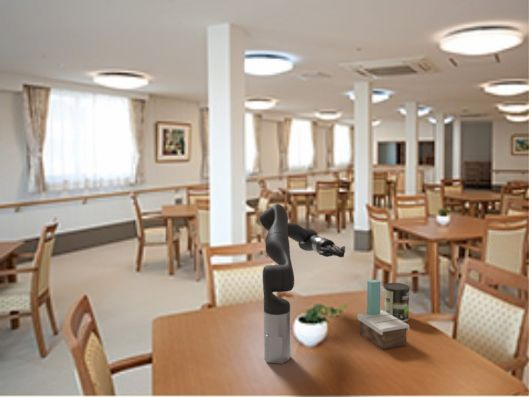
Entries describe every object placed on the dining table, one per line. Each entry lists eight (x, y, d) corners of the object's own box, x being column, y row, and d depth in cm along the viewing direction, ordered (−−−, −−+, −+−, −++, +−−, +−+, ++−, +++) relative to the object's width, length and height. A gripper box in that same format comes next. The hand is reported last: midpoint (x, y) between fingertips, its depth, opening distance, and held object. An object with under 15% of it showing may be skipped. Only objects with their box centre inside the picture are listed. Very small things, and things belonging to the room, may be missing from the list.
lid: (409, 330, 170) (410, 290, 168) (381, 334, 166) (381, 293, 164) (383, 315, 185) (384, 278, 184) (357, 319, 181) (357, 281, 180)
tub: (406, 346, 170) (406, 328, 170) (382, 350, 167) (383, 332, 166) (381, 330, 185) (381, 313, 185) (359, 334, 182) (360, 317, 181)
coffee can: (412, 316, 200) (412, 285, 198) (403, 324, 192) (404, 291, 190) (389, 312, 206) (389, 281, 205) (380, 318, 198) (380, 287, 196)
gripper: (309, 239, 203) (327, 247, 187) (336, 237, 207) (356, 244, 191) (309, 256, 204) (327, 265, 187) (336, 253, 208) (356, 262, 192)
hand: (342, 254), depth 189 cm, fingers closed
